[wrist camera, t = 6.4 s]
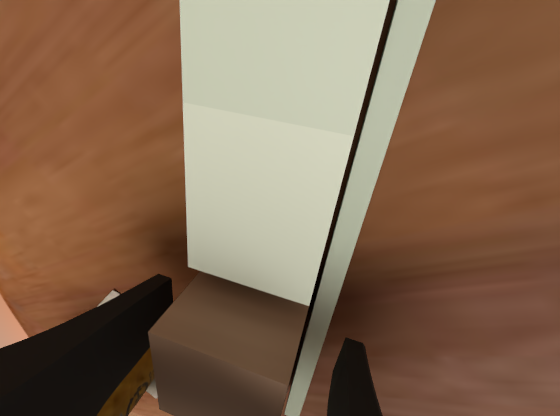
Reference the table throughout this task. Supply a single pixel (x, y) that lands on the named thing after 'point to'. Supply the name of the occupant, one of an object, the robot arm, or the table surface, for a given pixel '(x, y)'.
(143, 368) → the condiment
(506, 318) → the table surface
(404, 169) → the table surface
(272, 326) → the walnut key block
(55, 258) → the table surface
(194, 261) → the sage bar
